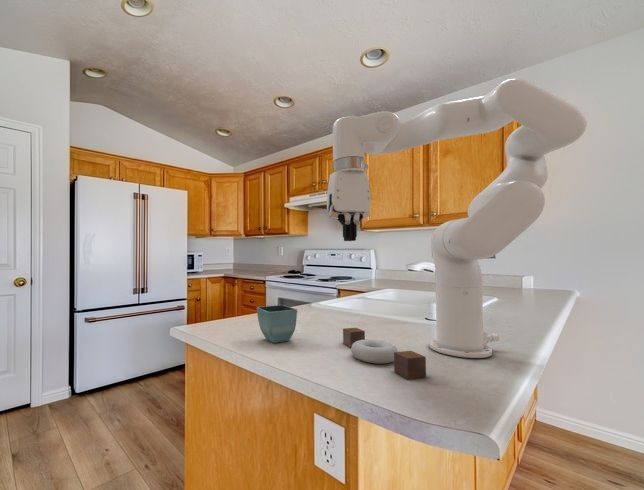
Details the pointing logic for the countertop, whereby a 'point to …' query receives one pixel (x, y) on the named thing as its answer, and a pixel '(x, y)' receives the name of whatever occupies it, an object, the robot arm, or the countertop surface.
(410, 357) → the walnut block
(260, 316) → the flower pot
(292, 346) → the countertop surface
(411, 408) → the countertop surface
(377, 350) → the donut
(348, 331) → the walnut block
